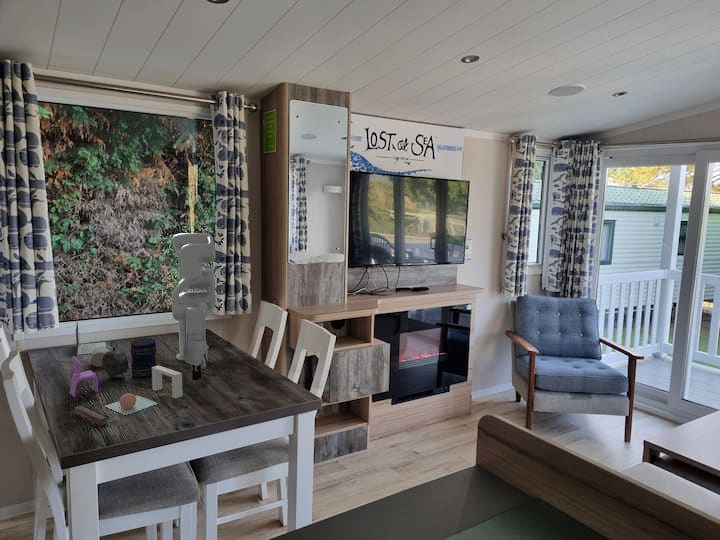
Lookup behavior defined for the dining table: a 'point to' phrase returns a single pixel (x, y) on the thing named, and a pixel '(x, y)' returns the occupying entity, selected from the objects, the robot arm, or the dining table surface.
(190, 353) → the robot arm
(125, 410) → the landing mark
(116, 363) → the alarm clock
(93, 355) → the ceramic mug
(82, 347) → the laptop
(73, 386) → the toy chair
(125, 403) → the ball
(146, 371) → the storage jar
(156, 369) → the bridge
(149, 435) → the dining table surface
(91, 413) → the brown wooden bar
